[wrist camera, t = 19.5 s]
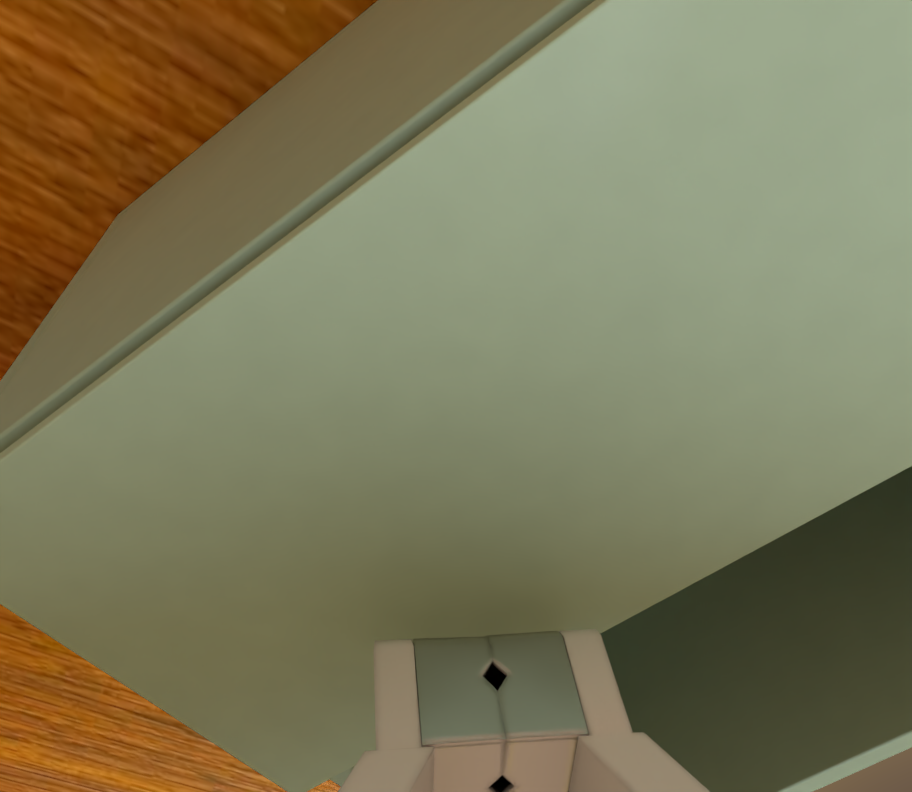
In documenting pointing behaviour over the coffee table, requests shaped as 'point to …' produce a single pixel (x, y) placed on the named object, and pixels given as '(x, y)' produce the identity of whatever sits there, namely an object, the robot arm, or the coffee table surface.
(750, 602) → the green box
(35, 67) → the coffee table surface
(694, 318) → the flap
